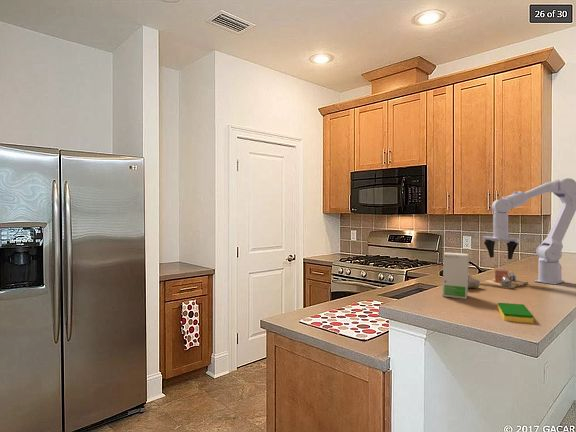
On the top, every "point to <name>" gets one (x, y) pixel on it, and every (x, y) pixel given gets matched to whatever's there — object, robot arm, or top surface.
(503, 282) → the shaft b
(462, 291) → the skincare box
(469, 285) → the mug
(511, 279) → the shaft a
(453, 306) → the top surface
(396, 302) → the top surface
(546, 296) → the top surface
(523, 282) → the base board
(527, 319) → the dish sponge
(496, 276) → the reddish brown block
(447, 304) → the top surface
